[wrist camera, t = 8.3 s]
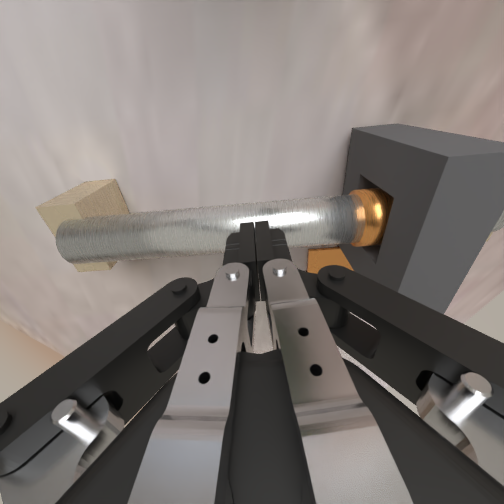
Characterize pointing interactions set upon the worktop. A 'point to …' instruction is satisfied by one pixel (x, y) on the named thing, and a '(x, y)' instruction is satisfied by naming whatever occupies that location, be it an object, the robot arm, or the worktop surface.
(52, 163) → the worktop surface
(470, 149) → the collar
